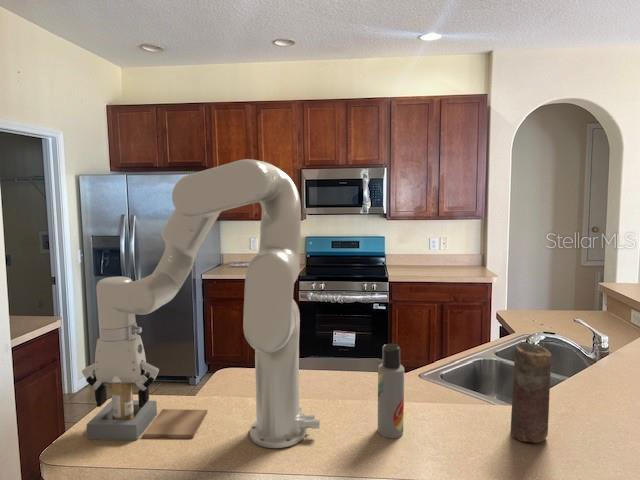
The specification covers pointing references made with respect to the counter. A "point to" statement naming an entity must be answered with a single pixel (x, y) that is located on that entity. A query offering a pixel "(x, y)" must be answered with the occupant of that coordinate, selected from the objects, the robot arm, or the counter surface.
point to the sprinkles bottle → (122, 400)
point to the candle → (530, 393)
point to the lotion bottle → (390, 393)
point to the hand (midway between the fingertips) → (122, 404)
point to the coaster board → (175, 424)
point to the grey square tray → (121, 423)
